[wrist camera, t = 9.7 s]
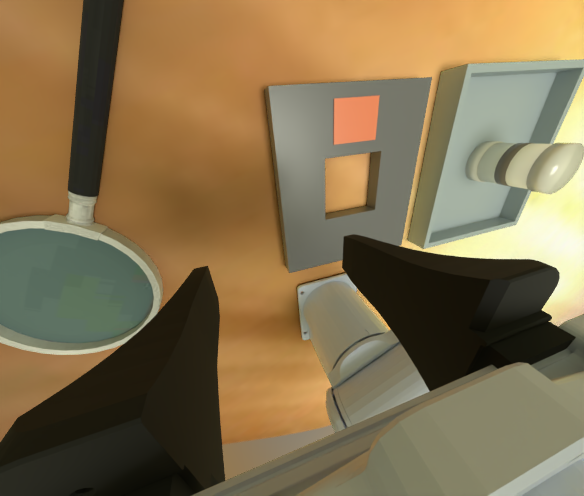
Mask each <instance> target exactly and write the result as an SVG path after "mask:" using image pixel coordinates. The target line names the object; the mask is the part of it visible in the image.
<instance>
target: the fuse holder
mask: <svg viewBox="0 0 584 496" xmlns="http://www.w3.org/2000/svg"><path fill="white" fill-rule="evenodd" d="M431 80H432V77H429V78H411V79H392V80H373V81H354V82H336V83H317V84H298V85H279V86H268V87H267V88H266V89H265V90H264V91H265V99H266V107H267V115H268V124H269V132H270V140H271V149H272V157H273V165H274V174H275V182H276V190H277V198H278V207H279V215H280V223H281V232H282V240H283V248H284V257H285V265H286V268H287V269H288V271H289V273H292V272H296V271H300V270H304V269H308V268H312V267H316V266H320V265H324V264H328V263H332V262H336V261H340V260H343V240H344V236H348V235H352V234H356V235H361V236H365V237H368V238H372V239H375V240H379V241H382V242H386V243H389V244H393V245H396V246H400V245H401V244H402V238H403V233H404V227H405V222H406V216H407V211H408V205H409V200H410V194H411V189H412V184H413V178H414V173H415V167H416V162H417V156H418V151H419V145H420V140H421V134H422V129H423V123H424V118H425V113H426V107H427V102H428V96H429V91H430V85H431ZM370 152H371V161H370V172H369V184H368V196H367V206H363V207H358V208H352V209H347V210H342V211H337V212H332V213H327V214H325V159H326V158H333V157H340V156H348V155H355V154H363V153H370Z"/></svg>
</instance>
